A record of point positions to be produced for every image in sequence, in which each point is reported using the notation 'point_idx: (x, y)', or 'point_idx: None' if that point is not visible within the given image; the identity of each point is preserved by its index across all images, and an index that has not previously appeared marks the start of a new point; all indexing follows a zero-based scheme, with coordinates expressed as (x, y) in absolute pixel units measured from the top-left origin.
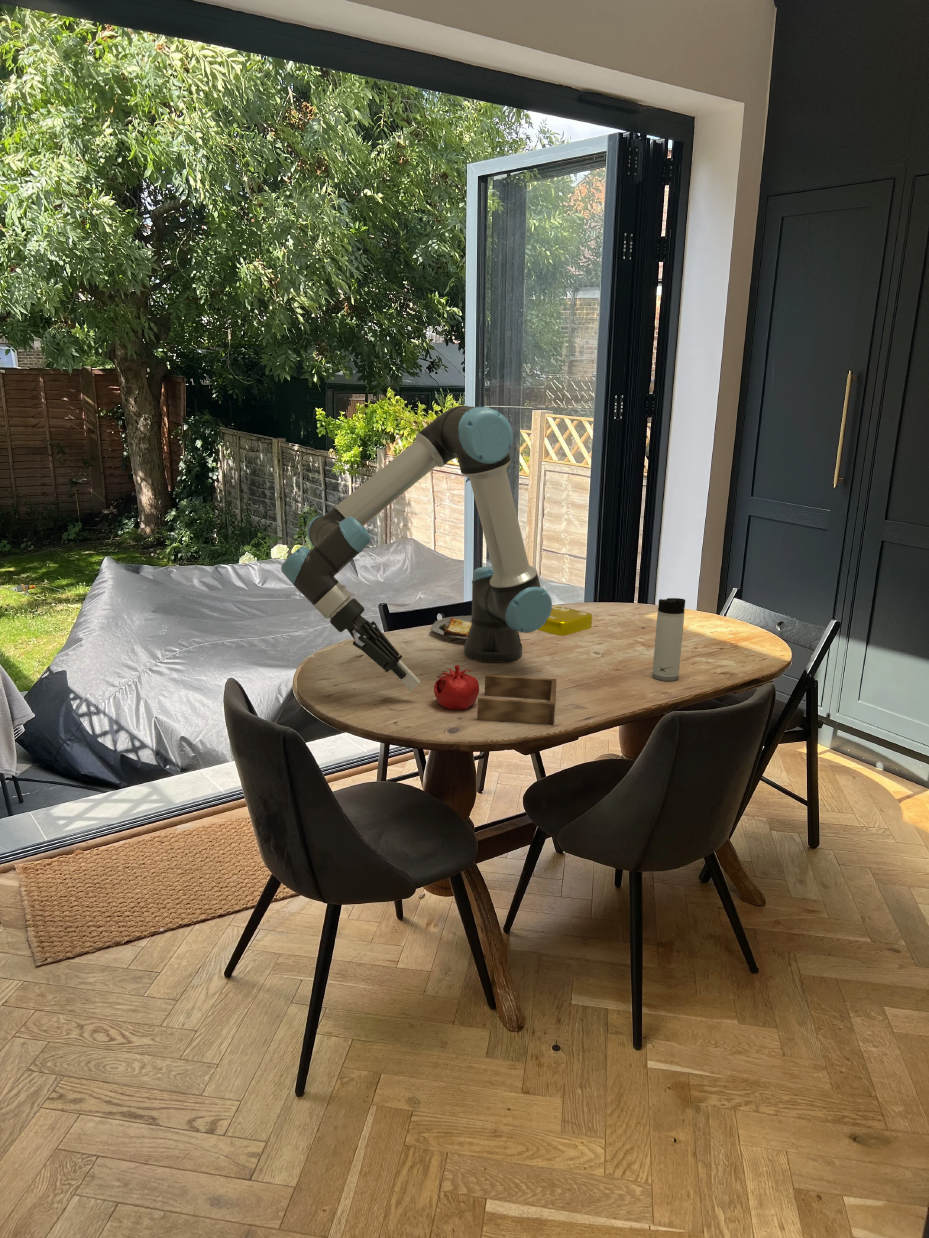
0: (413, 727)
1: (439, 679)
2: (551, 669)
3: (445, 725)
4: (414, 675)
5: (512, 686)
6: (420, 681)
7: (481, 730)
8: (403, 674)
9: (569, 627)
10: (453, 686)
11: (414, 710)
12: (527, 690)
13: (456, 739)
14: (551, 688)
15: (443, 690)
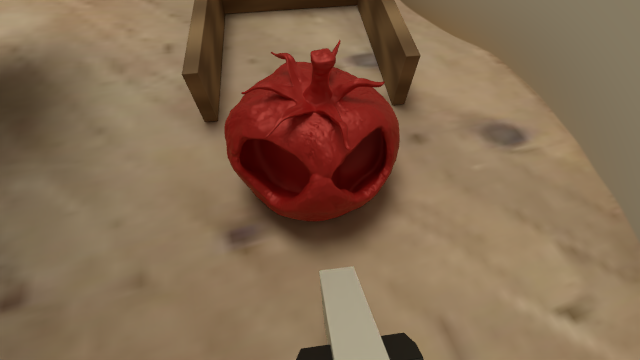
0: (563, 237)
1: (338, 166)
2: (4, 31)
3: (487, 158)
4: (330, 297)
5: (213, 43)
6: (322, 270)
7: (464, 85)
8: (416, 349)
9: None
10: (390, 108)
11: (423, 282)
12: (217, 27)
13: (552, 117)
14: None
15: (395, 151)
